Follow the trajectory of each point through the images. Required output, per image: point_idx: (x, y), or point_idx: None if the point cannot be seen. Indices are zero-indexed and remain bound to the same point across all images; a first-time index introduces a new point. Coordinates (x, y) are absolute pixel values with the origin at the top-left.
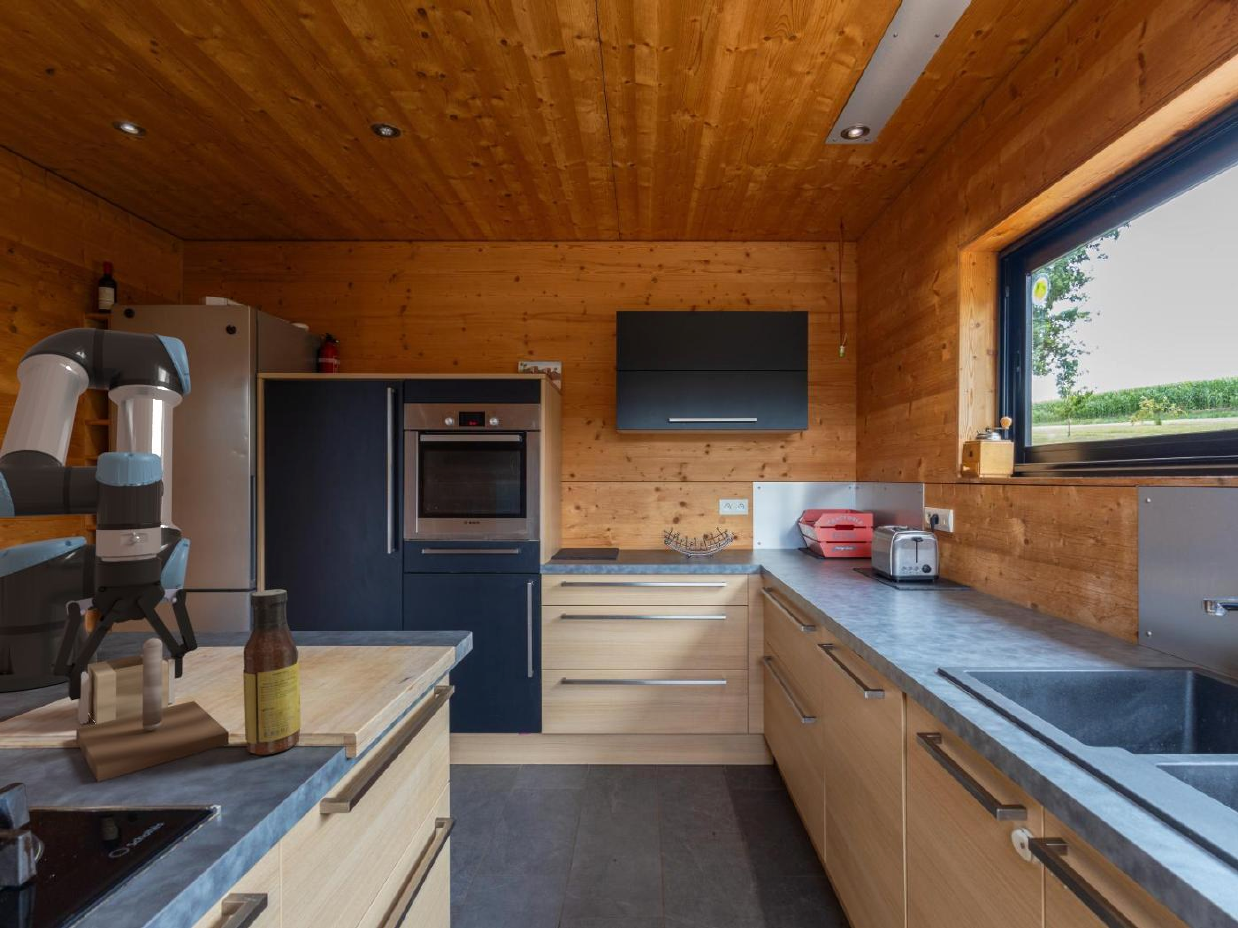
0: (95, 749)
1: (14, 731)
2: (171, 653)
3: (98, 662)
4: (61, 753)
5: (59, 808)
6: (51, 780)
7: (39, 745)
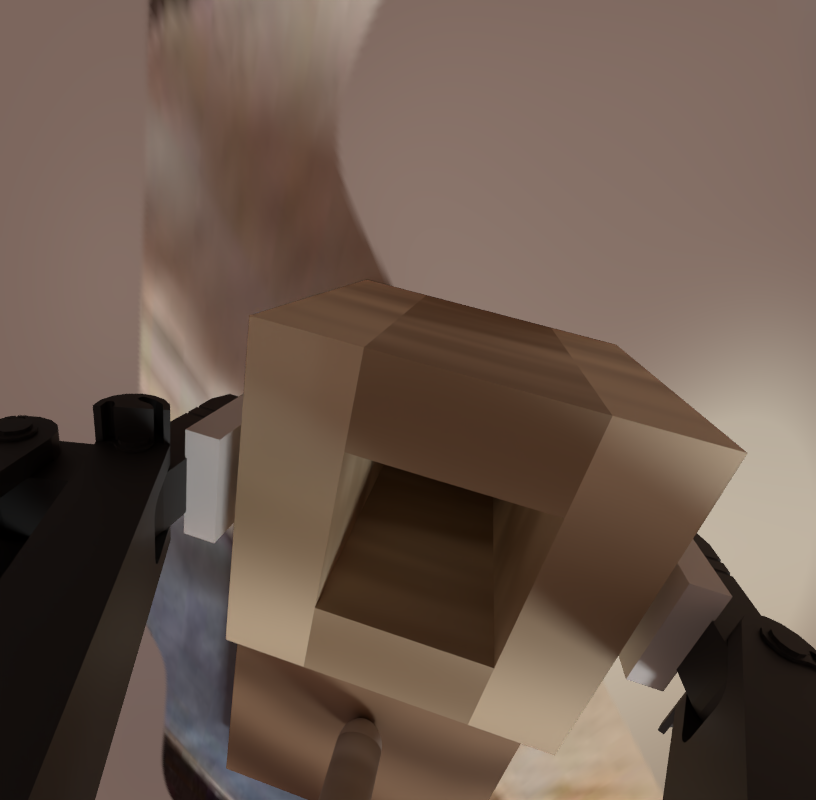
0: (245, 700)
1: (152, 259)
2: (717, 659)
3: (317, 334)
4: (223, 569)
5: (184, 753)
6: (188, 668)
7: None
